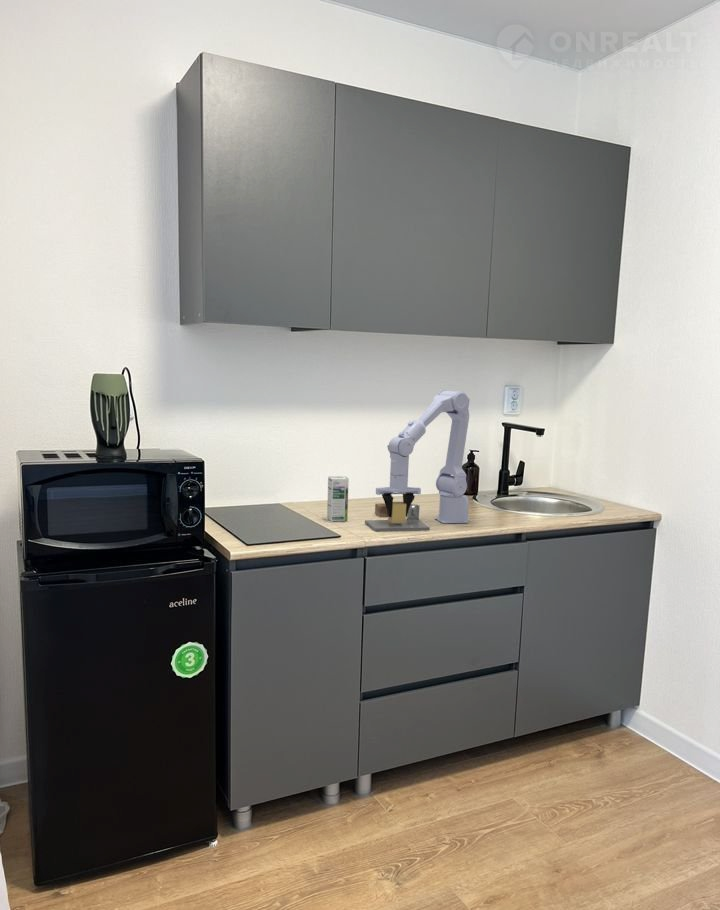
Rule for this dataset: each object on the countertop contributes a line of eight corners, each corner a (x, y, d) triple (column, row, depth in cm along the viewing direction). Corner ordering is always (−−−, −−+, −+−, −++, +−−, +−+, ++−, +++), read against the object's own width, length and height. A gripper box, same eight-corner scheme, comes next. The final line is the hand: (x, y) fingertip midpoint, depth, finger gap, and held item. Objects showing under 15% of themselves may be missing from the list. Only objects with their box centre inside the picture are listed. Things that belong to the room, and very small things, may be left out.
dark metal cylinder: (416, 518, 240) (417, 504, 239) (420, 521, 236) (421, 506, 235) (405, 518, 239) (406, 504, 238) (409, 521, 235) (409, 506, 234)
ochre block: (401, 519, 228) (401, 501, 228) (405, 522, 224) (406, 504, 223) (387, 520, 227) (388, 501, 227) (392, 522, 223) (392, 504, 222)
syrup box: (330, 522, 229) (332, 478, 227) (326, 518, 235) (328, 475, 233) (347, 521, 231) (349, 478, 229) (343, 517, 236) (344, 475, 235)
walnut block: (388, 514, 246) (388, 503, 245) (393, 517, 241) (393, 506, 240) (374, 514, 244) (375, 503, 244) (379, 517, 239) (379, 506, 239)
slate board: (416, 522, 234) (417, 519, 233) (429, 530, 222) (429, 527, 222) (364, 523, 229) (365, 520, 229) (375, 531, 217) (375, 528, 217)
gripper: (416, 472, 229) (414, 513, 231) (373, 472, 225) (372, 514, 227) (423, 476, 222) (421, 518, 224) (380, 476, 219) (378, 518, 220)
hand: (397, 516), depth 225 cm, fingers closed on ochre block, 4 cm apart
